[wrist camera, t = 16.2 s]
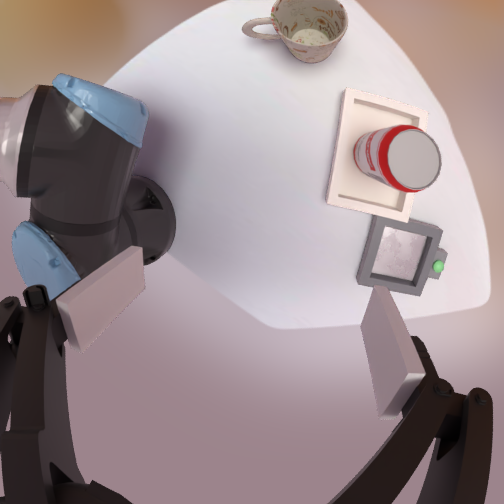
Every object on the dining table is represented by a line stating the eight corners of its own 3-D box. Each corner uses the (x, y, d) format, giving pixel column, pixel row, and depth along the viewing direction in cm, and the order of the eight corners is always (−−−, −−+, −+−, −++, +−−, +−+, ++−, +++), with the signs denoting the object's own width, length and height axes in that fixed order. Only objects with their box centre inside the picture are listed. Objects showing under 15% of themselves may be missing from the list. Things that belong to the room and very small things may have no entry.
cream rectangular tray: (325, 199, 38) (327, 203, 34) (342, 92, 32) (346, 87, 29) (400, 216, 36) (407, 222, 33) (419, 114, 30) (428, 111, 27)
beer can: (345, 165, 35) (369, 176, 20) (361, 124, 32) (396, 108, 18) (385, 185, 35) (430, 209, 20) (401, 145, 32) (456, 145, 17)
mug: (341, 72, 31) (351, 48, 22) (250, 70, 33) (231, 48, 24) (338, 23, 28) (344, -9, 19) (250, 23, 30) (232, -8, 21)
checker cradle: (356, 277, 41) (358, 285, 38) (374, 209, 37) (378, 213, 34) (427, 292, 39) (432, 299, 37) (449, 230, 35) (456, 234, 33)
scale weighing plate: (370, 269, 40) (371, 272, 39) (383, 224, 37) (384, 226, 36) (410, 278, 39) (412, 280, 38) (425, 235, 36) (426, 236, 35)
